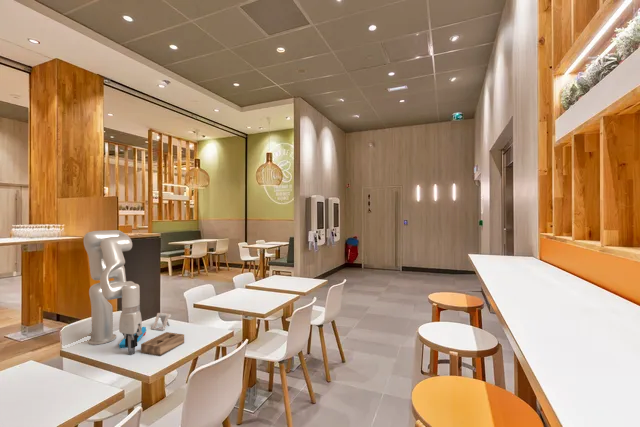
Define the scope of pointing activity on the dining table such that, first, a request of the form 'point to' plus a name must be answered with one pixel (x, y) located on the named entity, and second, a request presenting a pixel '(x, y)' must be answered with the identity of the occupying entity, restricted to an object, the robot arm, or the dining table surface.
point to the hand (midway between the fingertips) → (131, 346)
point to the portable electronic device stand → (164, 320)
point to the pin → (130, 350)
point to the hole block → (162, 344)
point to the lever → (122, 343)
